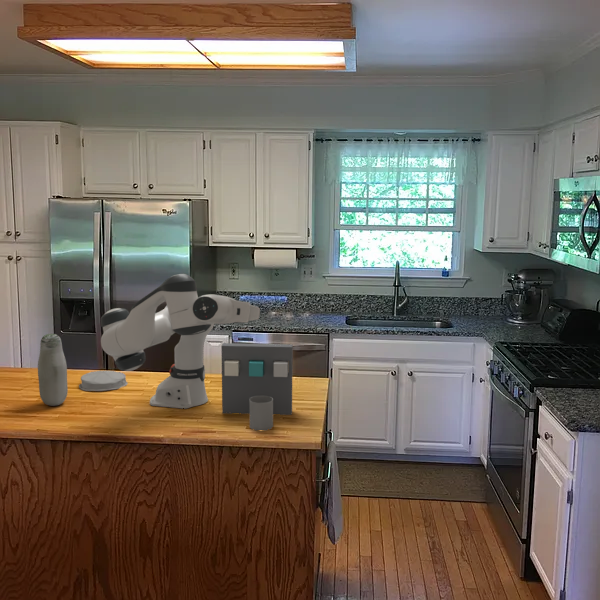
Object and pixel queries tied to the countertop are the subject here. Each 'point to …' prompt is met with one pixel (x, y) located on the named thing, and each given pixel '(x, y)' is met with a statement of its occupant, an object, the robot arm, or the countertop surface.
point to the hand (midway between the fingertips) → (234, 311)
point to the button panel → (256, 377)
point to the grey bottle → (52, 371)
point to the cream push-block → (232, 367)
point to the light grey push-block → (280, 368)
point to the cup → (261, 412)
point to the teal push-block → (256, 368)
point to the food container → (102, 381)
